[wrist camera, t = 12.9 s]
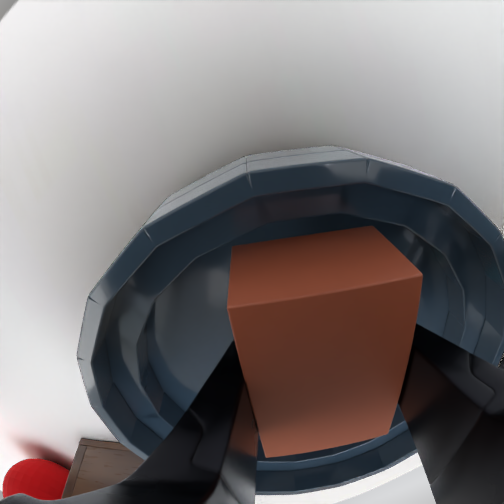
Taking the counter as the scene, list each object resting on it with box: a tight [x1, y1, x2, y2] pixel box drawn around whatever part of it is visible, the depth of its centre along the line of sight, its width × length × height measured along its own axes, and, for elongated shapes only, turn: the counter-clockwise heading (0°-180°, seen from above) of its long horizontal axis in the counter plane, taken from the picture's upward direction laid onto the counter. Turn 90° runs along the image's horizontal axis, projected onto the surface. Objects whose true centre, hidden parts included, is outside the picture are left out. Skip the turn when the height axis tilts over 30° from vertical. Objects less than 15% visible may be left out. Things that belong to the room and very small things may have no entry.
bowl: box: [77, 145, 504, 495], centre depth 12 cm, size 17×17×4 cm
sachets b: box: [227, 226, 423, 458], centre depth 8 cm, size 4×6×3 cm, turn 9°
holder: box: [61, 438, 145, 499], centre depth 16 cm, size 10×10×6 cm
